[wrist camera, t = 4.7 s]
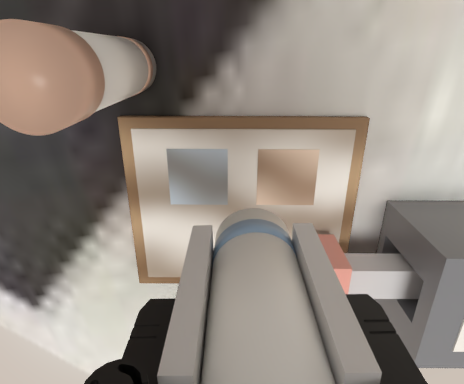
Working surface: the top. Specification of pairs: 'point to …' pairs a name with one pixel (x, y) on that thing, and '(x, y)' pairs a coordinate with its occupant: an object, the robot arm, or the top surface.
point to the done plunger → (372, 272)
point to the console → (428, 279)
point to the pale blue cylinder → (260, 308)
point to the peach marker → (65, 74)
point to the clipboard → (235, 177)
